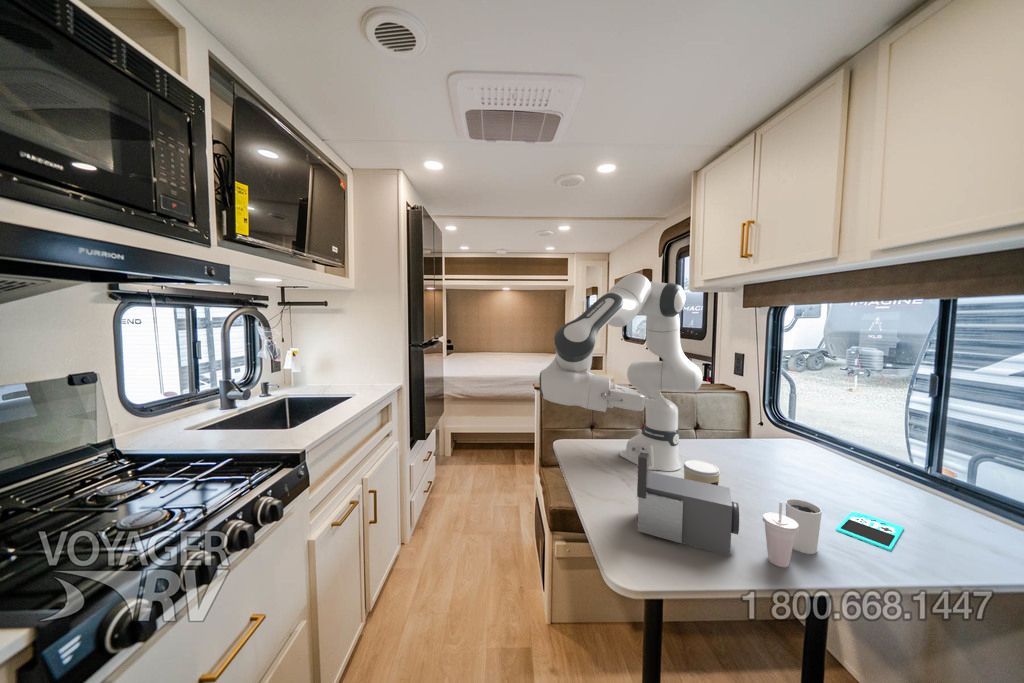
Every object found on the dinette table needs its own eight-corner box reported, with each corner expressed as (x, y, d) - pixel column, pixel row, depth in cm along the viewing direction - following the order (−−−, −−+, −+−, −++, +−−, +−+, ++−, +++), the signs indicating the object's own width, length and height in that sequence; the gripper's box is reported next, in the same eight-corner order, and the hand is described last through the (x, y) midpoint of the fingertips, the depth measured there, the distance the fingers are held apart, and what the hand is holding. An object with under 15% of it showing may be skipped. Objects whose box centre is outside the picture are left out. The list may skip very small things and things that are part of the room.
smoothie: (758, 561, 78) (761, 501, 77) (763, 548, 82) (766, 491, 82) (794, 576, 73) (798, 512, 73) (798, 561, 78) (801, 501, 77)
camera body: (638, 532, 89) (639, 486, 88) (644, 512, 98) (645, 471, 97) (738, 560, 78) (740, 509, 78) (734, 535, 87) (736, 489, 87)
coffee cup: (720, 518, 95) (722, 475, 94) (682, 510, 99) (684, 469, 98) (716, 501, 103) (718, 462, 103) (681, 495, 107) (683, 457, 107)
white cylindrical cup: (786, 533, 88) (788, 495, 87) (820, 546, 83) (823, 506, 83) (780, 545, 84) (783, 505, 83) (817, 559, 79) (820, 517, 78)
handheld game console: (905, 531, 90) (905, 526, 90) (891, 554, 81) (892, 549, 81) (852, 513, 98) (852, 509, 98) (834, 532, 90) (835, 527, 89)
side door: (636, 536, 85) (638, 457, 84) (638, 528, 88) (640, 452, 87) (681, 548, 81) (684, 465, 79) (681, 540, 84) (684, 459, 82)
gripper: (604, 383, 78) (669, 393, 75) (601, 379, 98) (653, 387, 95) (600, 411, 78) (665, 422, 75) (598, 401, 98) (650, 410, 95)
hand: (658, 402), depth 85 cm, fingers open, 8 cm apart
